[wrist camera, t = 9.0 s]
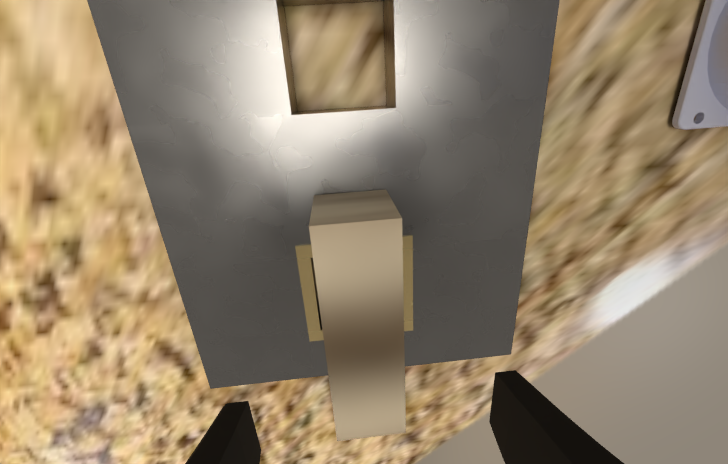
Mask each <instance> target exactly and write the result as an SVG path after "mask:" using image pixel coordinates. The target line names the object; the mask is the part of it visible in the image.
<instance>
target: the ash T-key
mask: <svg viewBox="0 0 728 464" xmlns="http://www.w3.org/2000/svg"><path fill="white" fill-rule="evenodd" d="M309 232H310V240H311V247H312V255H313V262H314V270H315V277H316V285H317V292H318V300H319V308H320V315H321V323H322V330H323V338H324V345H325V353H326V360H327V368H328V375H329V383H330V391H331V398H332V406H333V413H334V421H335V428H336V436H337V441H343V440H351V439H359V438H367V437H375V436H383V435H391V434H399V433H406V412H405V354H404V296H403V238H402V217H401V215H400V213H399V212H398V210H397V208H396V206H395V204H394V203H393V201H392V199H391V197H390V196H389V194H388V192H387V190H386V189H385V190H373V191H361V192H349V193H337V194H325V195H314V199H313V204H312V210H311V216H310V222H309Z"/></svg>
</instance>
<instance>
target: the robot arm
mask: <svg viewBox="0 0 728 464" xmlns="http://www.w3.org/2000/svg"><path fill="white" fill-rule="evenodd" d="M695 115H696V118H695V120H694V117H695ZM672 124H673V126H674V127H675V128H676V129H684V130H686V129H699V128H712V127H725V126H728V0H706V1H705V4H704V8H703V12H702V15H701V19H700V22H699V26H698V30H697V33H696V37H695V40H694V44H693V48H692V51H691V55H690V58H689V62H688V66H687V69H686V73H685V76H684V80H683V84H682V87H681V91H680V94H679V98H678V102H677V105H676V109H675V112H674V116H673V121H672ZM490 424H491V427H492V430H493V433H494V435H495V438H496V441H497V443H498V446H499V449H500V452H501V454H502V457H503V459H504V461H505V464H624V463H623V462H621V461H620V460H619V459H618V458H616V457H615V456H614V455H613V454H611V453H610V452H609V451H608V450H606V449H605V448H604V447H603V446H601V445H600V444H599V443H598V442H596V441H595V440H594V439H593V438H592V437H591V436H590V435H588V434H587V433H586V432H585V431H584V430H582V429H581V428H580V427H579V426H578V425H576V424H575V423H574V422H573V421H572V420H571V419H570V418H568V417H567V416H566V415H565V414H564V413H562V412H561V411H560V410H559V409H558V408H557V407H556V406H555V405H553V404H552V403H551V402H550V401H549V400H548V399H547V398H546V397H545V396H543V395H542V394H541V393H540V392H539V391H538V390H537V389H536V388H535V387H534V386H532V385H531V384H530V383H529V382H528V381H527V380H526V379H525V378H524V377H522V376H521V375H520V374H519V373H518V372H517V371H516V370H514V371H505V372H497V373H495V380H494V388H493V396H492V405H491V413H490ZM260 454H261V448H260V444H259V440H258V437H257V433H256V429H255V425H254V422H253V418H252V414H251V410H250V406H249V403H248V401H244V402H235V403H227V404H225V405H224V407H223V408H222V409H221V411H220V413H219V414H218V416H217V417H216V419H215V420H214V422H213V423H212V425H211V426H210V428H209V429H208V431H207V432H206V434H205V435H204V437H203V438H202V440H201V441H200V443H199V444H198V446H197V447H196V449H195V450H194V452H193V453H192V455H191V456H190V458H189V459H188V461H187V462H186V463H185V464H259V462H260Z"/></svg>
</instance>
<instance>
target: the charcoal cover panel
mask: <svg viewBox="0 0 728 464" xmlns="http://www.w3.org/2000/svg"><path fill="white" fill-rule="evenodd" d="M87 1H88V4H89V7H90V10H91V14H92V17H93V20H94V23H95V26H96V29H97V33H98V36H99V39H100V42H101V45H102V48H103V51H104V55H105V58H106V61H107V64H108V67H109V70H110V73H111V77H112V80H113V83H114V86H115V89H116V92H117V96H118V99H119V102H120V105H121V108H122V111H123V114H124V118H125V121H126V124H127V127H128V130H129V133H130V136H131V140H132V143H133V146H134V149H135V152H136V155H137V158H138V162H139V165H140V168H141V171H142V174H143V177H144V181H145V184H146V187H147V190H148V193H149V196H150V199H151V203H152V206H153V209H154V212H155V215H156V218H157V221H158V225H159V228H160V231H161V234H162V237H163V240H164V244H165V247H166V250H167V253H168V256H169V259H170V262H171V266H172V269H173V272H174V275H175V278H176V281H177V284H178V288H179V291H180V294H181V297H182V300H183V303H184V307H185V310H186V313H187V316H188V319H189V322H190V325H191V329H192V332H193V335H194V338H195V341H196V344H197V347H198V351H199V354H200V357H201V360H202V363H203V366H204V369H205V373H206V376H207V379H208V382H209V385H210V388H220V387H229V386H238V385H246V384H255V383H264V382H273V381H281V380H290V379H299V378H308V377H317V376H325V375H328V368H327V360H326V353H325V345H324V338H323V330H322V323H321V315H320V308H319V300H318V292H317V285H316V277H315V270H314V262H313V255H312V247H311V240H310V232H309V222H310V216H311V210H312V204H313V199H314V195H325V194H337V193H349V192H361V191H373V190H385V189H386V190H387V192H388V194H389V196H390V197H391V199H392V201H393V203H394V204H395V206H396V208H397V210H398V212H399V213H400V215H401V217H402V238H403V296H404V354H405V366H413V365H422V364H430V363H439V362H448V361H457V360H465V359H474V358H483V357H492V356H500V355H509V354H511V350H512V342H513V335H514V328H515V320H516V313H517V306H518V299H519V291H520V284H521V277H522V269H523V262H524V255H525V248H526V240H527V233H528V226H529V218H530V211H531V204H532V197H533V189H534V182H535V175H536V168H537V160H538V153H539V146H540V138H541V131H542V124H543V117H544V109H545V102H546V95H547V87H548V80H549V73H550V66H551V58H552V51H553V44H554V36H555V29H556V22H557V15H558V7H559V0H87ZM375 1H383V17H384V48H385V78H386V106H373V107H359V108H344V109H330V110H315V111H300V112H298V111H297V103H296V95H295V87H294V80H293V72H292V64H291V56H290V49H289V41H288V33H287V25H286V17H285V10H284V6H296V5H315V4H335V3H355V2H375Z"/></svg>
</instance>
